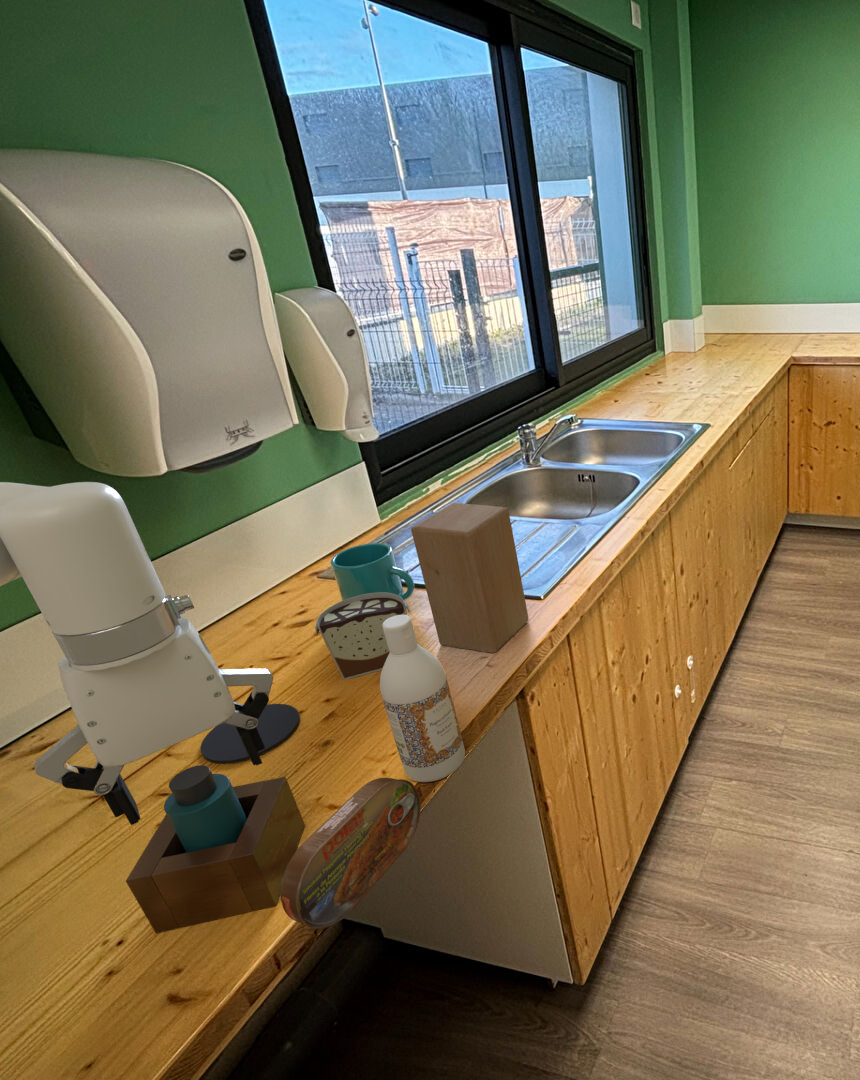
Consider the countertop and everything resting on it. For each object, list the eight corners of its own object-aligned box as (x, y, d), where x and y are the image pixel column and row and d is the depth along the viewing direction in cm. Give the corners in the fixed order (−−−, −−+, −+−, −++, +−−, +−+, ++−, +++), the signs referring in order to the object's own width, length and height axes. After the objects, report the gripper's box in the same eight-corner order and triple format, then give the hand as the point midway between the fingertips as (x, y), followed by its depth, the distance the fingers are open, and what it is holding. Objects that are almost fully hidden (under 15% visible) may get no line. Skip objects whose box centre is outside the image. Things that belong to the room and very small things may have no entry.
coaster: (186, 772, 84) (184, 768, 84) (221, 715, 94) (220, 712, 94) (286, 753, 87) (284, 750, 86) (310, 700, 96) (309, 697, 96)
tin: (317, 950, 63) (288, 884, 59) (291, 940, 64) (261, 875, 60) (430, 822, 76) (412, 763, 72) (406, 816, 76) (388, 757, 73)
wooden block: (438, 645, 107) (408, 527, 99) (477, 613, 116) (453, 501, 108) (494, 654, 104) (468, 533, 96) (530, 620, 113) (509, 506, 105)
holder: (155, 933, 65) (125, 881, 62) (200, 847, 74) (175, 797, 71) (276, 906, 67) (252, 854, 64) (305, 825, 76) (285, 776, 73)
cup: (407, 630, 112) (390, 568, 107) (337, 629, 113) (317, 567, 108) (433, 601, 120) (419, 542, 115) (368, 601, 121) (351, 542, 117)
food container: (420, 639, 109) (405, 583, 105) (423, 659, 104) (408, 600, 100) (333, 661, 105) (313, 603, 101) (331, 683, 100) (311, 623, 95)
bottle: (196, 903, 68) (144, 803, 62) (217, 860, 72) (170, 764, 67) (256, 890, 69) (209, 791, 63) (272, 848, 73) (231, 752, 68)
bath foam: (433, 792, 80) (390, 644, 71) (392, 773, 83) (347, 629, 74) (478, 754, 85) (444, 612, 77) (438, 737, 88) (401, 599, 80)
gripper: (229, 578, 66) (287, 722, 73) (-22, 658, 55) (75, 817, 63) (248, 604, 61) (308, 756, 68) (-23, 698, 50) (83, 866, 58)
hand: (197, 785), depth 65 cm, fingers open, 9 cm apart
